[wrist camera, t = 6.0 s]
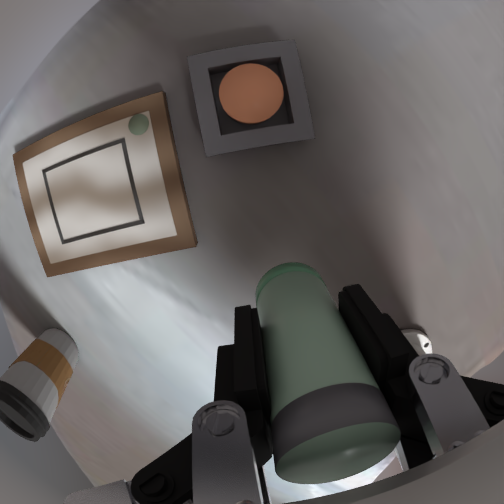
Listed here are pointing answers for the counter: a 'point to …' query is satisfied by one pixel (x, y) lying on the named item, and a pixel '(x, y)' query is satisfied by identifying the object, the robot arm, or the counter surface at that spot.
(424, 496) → the robot arm
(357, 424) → the sage green marker
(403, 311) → the counter surface
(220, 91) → the button
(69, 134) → the drawing board
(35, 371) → the coffee cup
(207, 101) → the button housing
